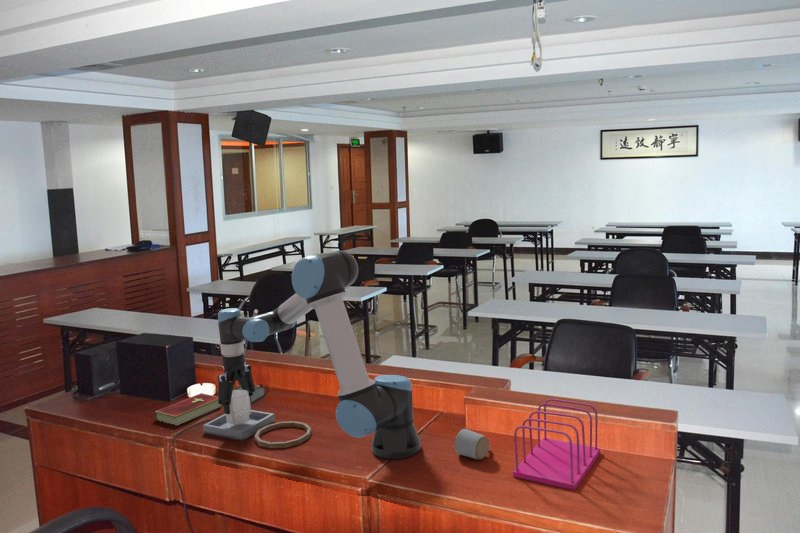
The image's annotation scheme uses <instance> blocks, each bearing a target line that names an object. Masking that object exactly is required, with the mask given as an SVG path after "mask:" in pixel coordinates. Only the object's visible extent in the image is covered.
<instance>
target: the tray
mask: <svg viewBox="0 0 800 533" xmlns="http://www.w3.org/2000/svg"><path fill="white" fill-rule="evenodd" d="M275 419H276V418H275V413H271V412H265V411H259V410H253V409H251V414H250V415H249V421H248V422H246V423H243V424H238V425H234V424H230V423H229V422H227V420H226V414H225V413H223V414H222V415H220V416H218V417H217V418H214V419H213V420H210V421H209V422H206V423H205V424H203V425H202V427H203V428H202V429H203V434H206V435H210V436H216V437H220V438H226V439H231V440H235V441H242V442H243V441H245V440H246V438H247V439H248V438H249V437H252V436H254V435H255V434H256V433H257V431H258V430H259V429H261V428H263V427H265V426H267V425H270V424H274V423H276V420H275Z"/></svg>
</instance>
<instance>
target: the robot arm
mask: <svg viewBox="0 0 800 533" xmlns="http://www.w3.org/2000/svg"><path fill="white" fill-rule="evenodd" d="M358 275H359V265H358V262H357V259H356V258H355V257H354V256H353V255H352V254H351V253H349V252H347V251H346V250H345V251H344V250H332V251H328V252H322V253H315V254H311V255H308V256H306V257H305V256H304V257H302V258H300V259H299V260H298V261H297V262H296V263H295V265H294V266H293V270H292V273H291V284H292V288H293V290H294V292H295V293H294V294H293V295H292V296H290V297H289V298H288V299H286V300H284V302H283V303H281V304H280V305H279V306H278V307H277V308H275V309H274V310H272V311H269V312H265V313H262V314H256V315H255V316H251V317H247V316H242V312H241V310H240V309H239V308H236V307H234V308H233V307H231V308H225V309H220V310H219V311H218V313H217V324H218V332H219V333H218V334H219V341H220V343H219V344H220V353H221V355H222V356H221V361H222V362H221V363H222V366H223V368H224V370H223V374H221V375H217V377H216V378H217V381H218V390H217V391H218V396H217V397H218V404H221V406H222V405H223V409H224V410H223V411H224V413H223V414H226V420H227V422H229V423H234V418H233V407H232V404H230V402H231V396H232V391H233V390H234V386H235V385H236V382H237V381H238V384H239V387H240V388H241V390H247V391H248V392H249V415H250V414H251V410H252V408H251V407H252V406H251V405H252V396H253V395H254V393H255V392H256V388H255V383H254V379H253V374H252V365H249V364H245V363H246V356H245V353H244V352H245V347H244V345H245V344H244V341H247V342H252V343H260V342H264V341H265V340H266V338H268V336H271V335H274V334H277V333H280V332H284V331H288V330H290V329H292V328H294V327H295V326H296V324H297V322H298V320H300V319H301V318H303V316H305V315H306V314H308V313H309V312H310V311H312V310H315V314H316V317H317V319H318V322H319V327H320V329H321V332H322V334H323V338H324V340H325V344H326V347H327V350H328V353H329V357H330V359H331V362H332V365H333V368H334V372H335V375H336V377H337V381H338V383H339V387H340V389H339V390H338V392H337V397H338V401H339V403H338V404H337V406H336V408H335V409H336V410H335V418H336V422H337V424H338V426H339V427H340V428H341V430H342V431H344V432H345V433H346V434H347V435H348V436H350V437H353V438H358V439H359V438H364V437H366V436H368V435H372V434H373V436H372V440H371V452H372V453H373V455H375V456H376V457H379V458H381V459H387V460H402V459H405V458H409V457H412V456H415V455H416V454H418V453H419V452H420V450H421V439H420V437H419V433H418V431H417V429H416V426H415V424H414V423H415V422H414V404H413V403H414V402H413V400H414V399H413V387H412V381H411V379H409V378H408V377H406V376H403V375H398V374H382V375H381V374H380V375H378V376H375V377H374V378H373V379H371V378H370V377H369V374H368V371H367V368H366V366H365V363H364V359H363V357H362V354H361V350H360V347H359V344H358V341H357V339H356V336H355V332H354V329H353V326H352V323H351V321H350V318H349V314H348V312H347V309H346V308H347V307H346V306H345V303H344V298H345V296H346V293H347V291H346V289H347V288H349V287H350V286H351V285H353V284H354V283H355V282H356V280H357V278H358ZM226 400H227V401H226Z"/></svg>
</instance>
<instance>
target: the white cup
mask: <svg viewBox="0 0 800 533" xmlns="http://www.w3.org/2000/svg"><path fill="white" fill-rule="evenodd" d="M226 401H227V400H226ZM230 404H232V407H233V418H234V423H230V424H234V425H238V424H243V423H246V422H248V421H249V392H248V391H247V390H242V389H233V391H232V396H231V402H230Z"/></svg>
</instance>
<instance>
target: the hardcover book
mask: <svg viewBox="0 0 800 533" xmlns="http://www.w3.org/2000/svg"><path fill="white" fill-rule="evenodd" d="M221 407H222V405H221V404H218V396H217V395H211V394H206V393H203V392H202V393H201V392H200V393H198V394H196V395H192V396H190V397H188V398H186V399H182V400H180V401H178V402H175V403H172V404H170V405H168V406H165V407H163V408H161V409H158V410H155V411H154V418H155V421H156V420H157V421H158V420H159V422H162V421H163V423H165V424H169V423H170V424H171V425H173V424H174V425H173V426H179V425H181V424H184V423H187V422H188V421H191V420H193V419H195V418H197V417H200V416H203V415H205V414H207V413H209V412H212V411H214V410H216V409H219V408H221ZM170 424H169V425H170Z"/></svg>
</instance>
